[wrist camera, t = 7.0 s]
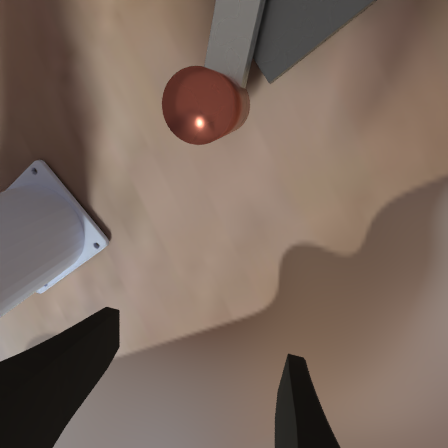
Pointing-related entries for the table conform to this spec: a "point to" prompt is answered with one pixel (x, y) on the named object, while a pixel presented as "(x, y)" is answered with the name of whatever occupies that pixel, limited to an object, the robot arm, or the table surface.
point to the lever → (216, 77)
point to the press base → (299, 30)
